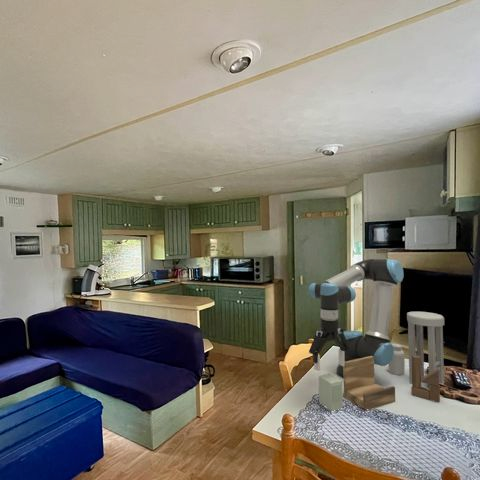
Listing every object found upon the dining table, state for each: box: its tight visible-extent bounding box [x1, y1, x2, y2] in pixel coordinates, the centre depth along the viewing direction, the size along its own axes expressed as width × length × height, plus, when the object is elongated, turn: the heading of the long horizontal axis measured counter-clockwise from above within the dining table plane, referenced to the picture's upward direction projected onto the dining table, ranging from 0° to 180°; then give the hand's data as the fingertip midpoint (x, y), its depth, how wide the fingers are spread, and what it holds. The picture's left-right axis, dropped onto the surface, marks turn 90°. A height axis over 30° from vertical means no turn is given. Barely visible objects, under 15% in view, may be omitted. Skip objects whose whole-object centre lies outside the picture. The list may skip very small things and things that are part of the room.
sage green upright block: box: [318, 373, 344, 412], centre depth 126 cm, size 8×6×12 cm
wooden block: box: [410, 354, 441, 403], centre depth 133 cm, size 4×11×18 cm, turn 51°
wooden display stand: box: [342, 356, 396, 411], centre depth 131 cm, size 13×18×16 cm
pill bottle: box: [387, 343, 406, 376], centre depth 160 cm, size 8×8×15 cm
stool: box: [406, 311, 445, 385], centre depth 146 cm, size 16×16×35 cm
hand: (329, 367), depth 126 cm, fingers open, 13 cm apart
